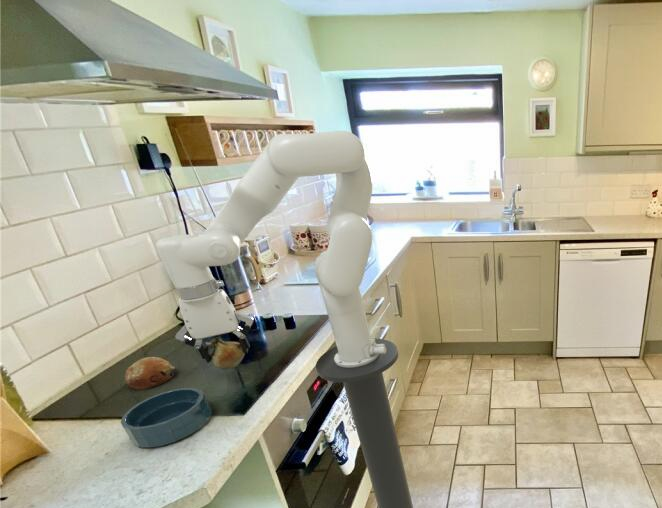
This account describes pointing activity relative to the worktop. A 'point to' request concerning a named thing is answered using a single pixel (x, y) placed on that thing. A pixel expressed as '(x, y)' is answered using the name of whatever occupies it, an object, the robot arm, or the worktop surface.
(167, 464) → the worktop surface
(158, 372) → the bread roll
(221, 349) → the onion
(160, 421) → the bowl
